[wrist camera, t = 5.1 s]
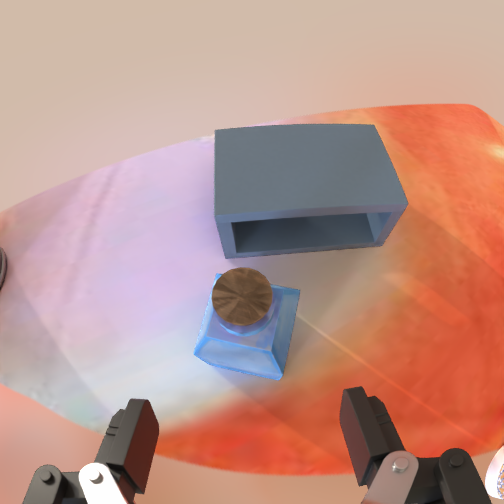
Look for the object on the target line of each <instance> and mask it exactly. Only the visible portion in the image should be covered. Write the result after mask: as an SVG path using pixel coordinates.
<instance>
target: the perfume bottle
mask: <svg viewBox="0 0 504 504" xmlns="http://www.w3.org/2000/svg"><path fill="white" fill-rule="evenodd" d="M299 294H300V290H298V289H292V288H287V287H282V286H277V285H272V284H270V283H269V282H268V280H267V279H266V277H265V276H264V275H262V274H261V273H260V272H258V271H256V270H253V269H251V268H236V269H231V270H229V271H227V272H226V273H224V274H218V273H217V274H216V278H215V281H214V284H213V288H212V291H211V294H210V298H209V301H208V305H207V308H206V312H205V315H204V318H203V322H202V325H201V329H200V332H199V336H198V340H197V343H196V347H195V350H194V355H195V356H197V357H198V358H200V359H201V360H203V361H205V362H206V363H208V364H210V365H214V366H218V367H222V368H226V369H230V370H234V371H238V372H242V373H247V374H251V375H256V376H260V377H265V378H270V379H275V380H280V378H281V377H282V376H283V372H284V368H285V363H286V359H287V354H288V349H289V345H290V340H291V335H292V330H293V325H294V320H295V315H296V310H297V305H298V300H299Z"/></svg>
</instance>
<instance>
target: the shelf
mask: <svg viewBox="0 0 504 504" xmlns="http://www.w3.org/2000/svg"><path fill="white" fill-rule="evenodd" d="M407 205H408V201H407V199H406V196H405V193H404V191H403V188H402V186H401V183H400V181H399V178H398V176H397V174H396V171H395V169H394V167H393V164H392V162H391V160H390V158H389V155H388V153H387V151H386V149H385V147H384V144H383V142H382V140H381V138H380V136H379V134H378V132H377V130H376V128H375V126H374V125H366V124H293V125H270V126H255V127H242V128H230V129H221V130H215V144H214V217H215V221H216V225H217V228H218V232H219V236H220V240H221V243H222V247H223V251H224V255H225V258H226V259H228V258H241V257H253V256H266V255H278V254H290V253H303V252H315V251H327V250H339V249H351V248H363V247H375V246H382V245H383V244H384V242H385V240H386V239H387V237H388V236H389V234H390V232H391V231H392V229H393V228H394V226H395V225H396V223H397V221H398V220H399V218H400V217H401V215H402V213H403V212H404V210H405V209H406V207H407Z"/></svg>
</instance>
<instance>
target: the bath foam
mask: <svg viewBox="0 0 504 504" xmlns="http://www.w3.org/2000/svg"><path fill="white" fill-rule="evenodd" d="M485 486H486V490H487V492H488V494H489V495H491V496H493V497H496V498H500V499H503V500H504V445H503V446H502V447H501V448H500V449H499V450H498V452H497V453H496V454H495V456H494V457H493V459H492V461H491V463H490V465H489V467H488V470H487V474H486V479H485Z"/></svg>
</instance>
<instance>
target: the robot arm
mask: <svg viewBox="0 0 504 504" xmlns="http://www.w3.org/2000/svg"><path fill="white" fill-rule="evenodd" d="M5 272H6V255H5V252H4V250H3V249H2V248H1V247H0V288H1V286H2V283H3V280H4V276H5ZM340 424H341V428H342V431H343V434H344V438H345V441H346V444H347V448H348V451H349V454H350V458H351V461H352V465H353V468H354V471H355V475H356V478H357V482H358V485H359V486H363V485H367V487H368V492H367V494H366V495H365V497H364V499H363V501H362V502H361V504H492V503H491V500H490V498H489V496H488V494H487V491H486V489H485V487H484V485H483V482H482V480H481V478H480V476H479V474H478V472H477V469H476V468H475V466H474V463H473V461H472V459H471V457H470V455H469V454H468V453H467V452H466V451H464V450H463V449H459V448H452V449H449V450H447V451H445V452H444V453H443V454H442V455H441V457H435V458H418V457H415V456H414V455H413V454H412V453H410V452H407V451H406V450H405V448H404V446H403V444H402V442H401V440H400V437H399V435H398V433H397V431H396V429H395V427H394V424H393V422H391V418H390V416H389V414H388V412H387V410H386V407H385V405H384V403H383V402H382V401H380V400H379V399H378V398H377V397H376V396H372V397H367V395H366V393H365V391H364V389H363V387H362V386H360V387H355V388H349V389H344V390H343V396H342V402H341V409H340ZM158 436H159V424H158V421H157V419H156V416H155V414H154V411H153V409H152V406H151V404H150V402H149V400H145V399H130V400H129V402H128V405H127V407H126V410H123V409H120V410H119V411H118V412H117V413H116V414H115V415H114V416H113V417H112V419H111V422H110V424H109V428H108V429H107V431H106V435H105V436H104V439H103V441H102V444H101V446H100V449H99V451H98V454H97V456H96V459H95V461H94V463H91V464H88V465H86V466H85V467H83V468H82V470H81V471H80V472H60V470H59V469H58V468H57V467H55V466H53V465H43V466H41V467H40V468H38V469H37V470H36V471H35V473H34V476H33V478H32V481H31V483H30V486H29V488H28V491H27V493H26V496H25V498H24V501H23V504H136V503H135V501H134V496H135V493H138V494H144V492H145V488H146V484H147V480H148V476H149V471H150V468H151V463H152V459H153V455H154V452H155V448H156V444H157V440H158Z"/></svg>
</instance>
